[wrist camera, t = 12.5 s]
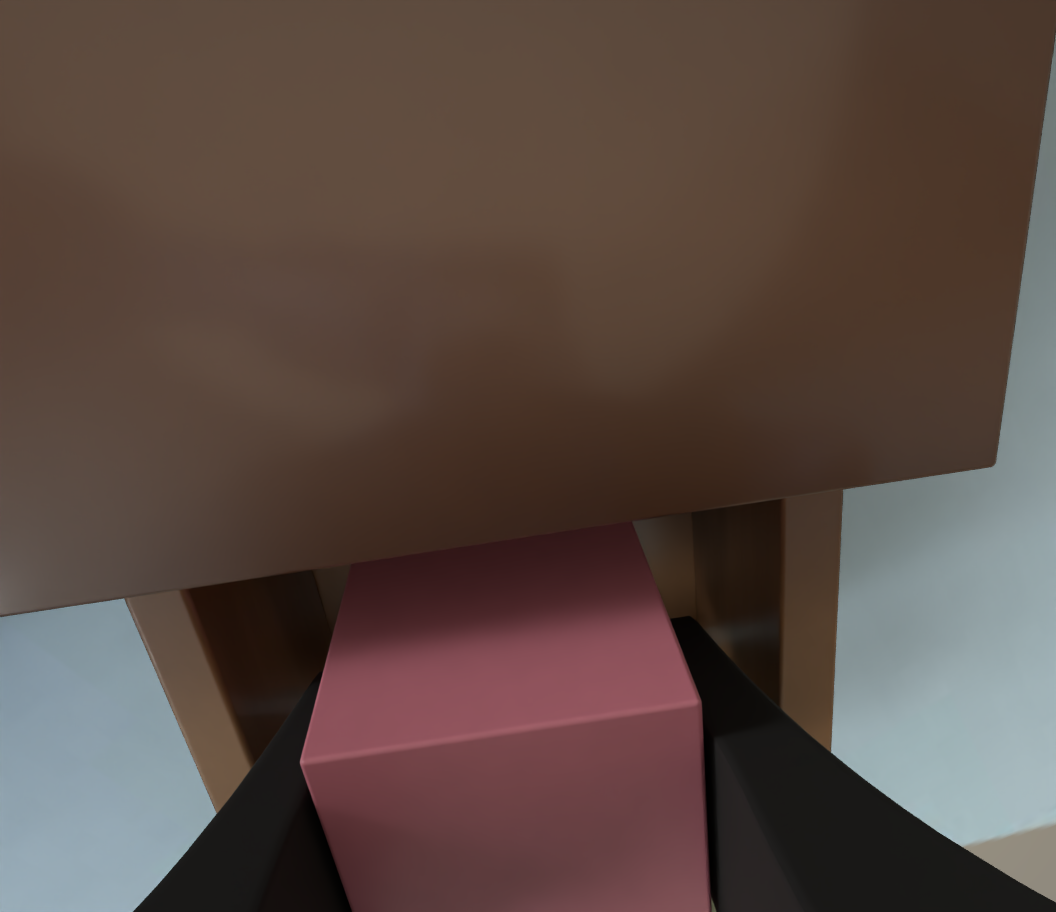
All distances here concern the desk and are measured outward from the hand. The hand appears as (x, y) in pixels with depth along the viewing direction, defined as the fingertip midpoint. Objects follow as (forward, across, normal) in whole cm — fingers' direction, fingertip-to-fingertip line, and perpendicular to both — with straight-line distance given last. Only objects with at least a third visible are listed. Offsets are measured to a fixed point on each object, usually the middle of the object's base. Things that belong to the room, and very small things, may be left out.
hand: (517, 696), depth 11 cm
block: (+1, 0, 0) cm, 1 cm away
